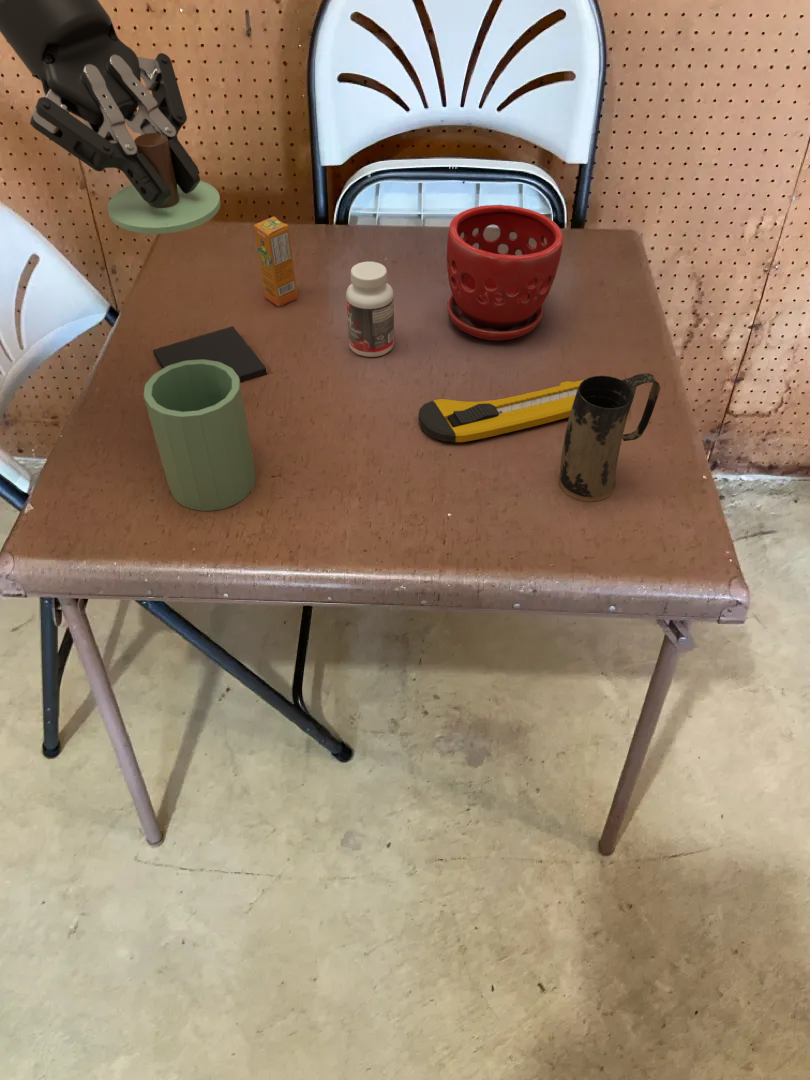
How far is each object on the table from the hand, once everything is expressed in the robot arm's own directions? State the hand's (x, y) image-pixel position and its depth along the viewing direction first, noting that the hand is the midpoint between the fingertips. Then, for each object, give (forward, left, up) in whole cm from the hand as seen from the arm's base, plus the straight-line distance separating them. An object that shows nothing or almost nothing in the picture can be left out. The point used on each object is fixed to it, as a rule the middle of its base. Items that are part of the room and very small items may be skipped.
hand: (179, 193), depth 69 cm
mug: (+29, -24, -26) cm, 46 cm away
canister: (-4, -5, -26) cm, 27 cm away
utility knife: (+29, -11, -26) cm, 41 cm away
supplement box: (+16, +23, -26) cm, 39 cm away
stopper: (-1, +2, -2) cm, 3 cm away
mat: (+3, +14, -26) cm, 30 cm away
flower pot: (+37, +5, -26) cm, 46 cm away
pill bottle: (+21, +8, -26) cm, 35 cm away
